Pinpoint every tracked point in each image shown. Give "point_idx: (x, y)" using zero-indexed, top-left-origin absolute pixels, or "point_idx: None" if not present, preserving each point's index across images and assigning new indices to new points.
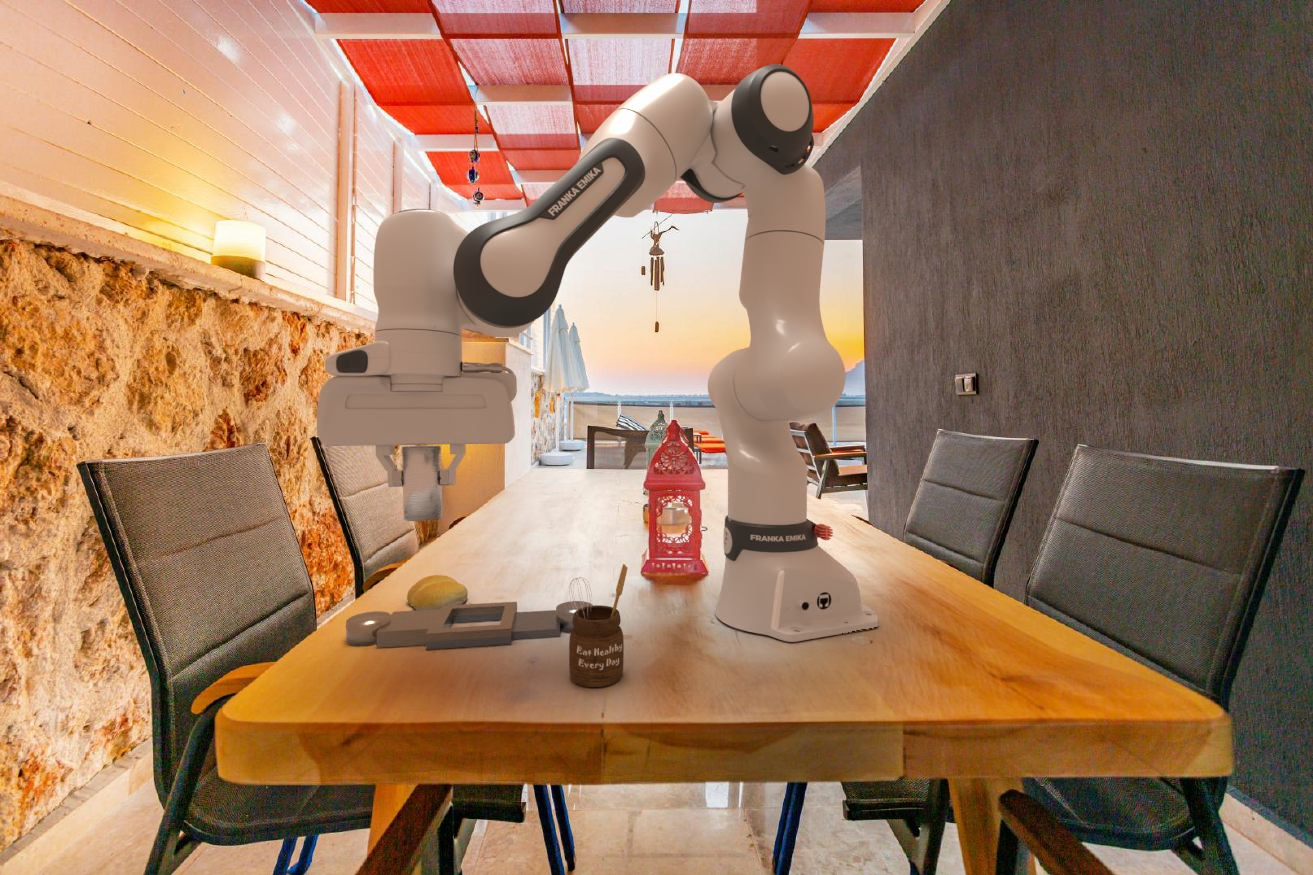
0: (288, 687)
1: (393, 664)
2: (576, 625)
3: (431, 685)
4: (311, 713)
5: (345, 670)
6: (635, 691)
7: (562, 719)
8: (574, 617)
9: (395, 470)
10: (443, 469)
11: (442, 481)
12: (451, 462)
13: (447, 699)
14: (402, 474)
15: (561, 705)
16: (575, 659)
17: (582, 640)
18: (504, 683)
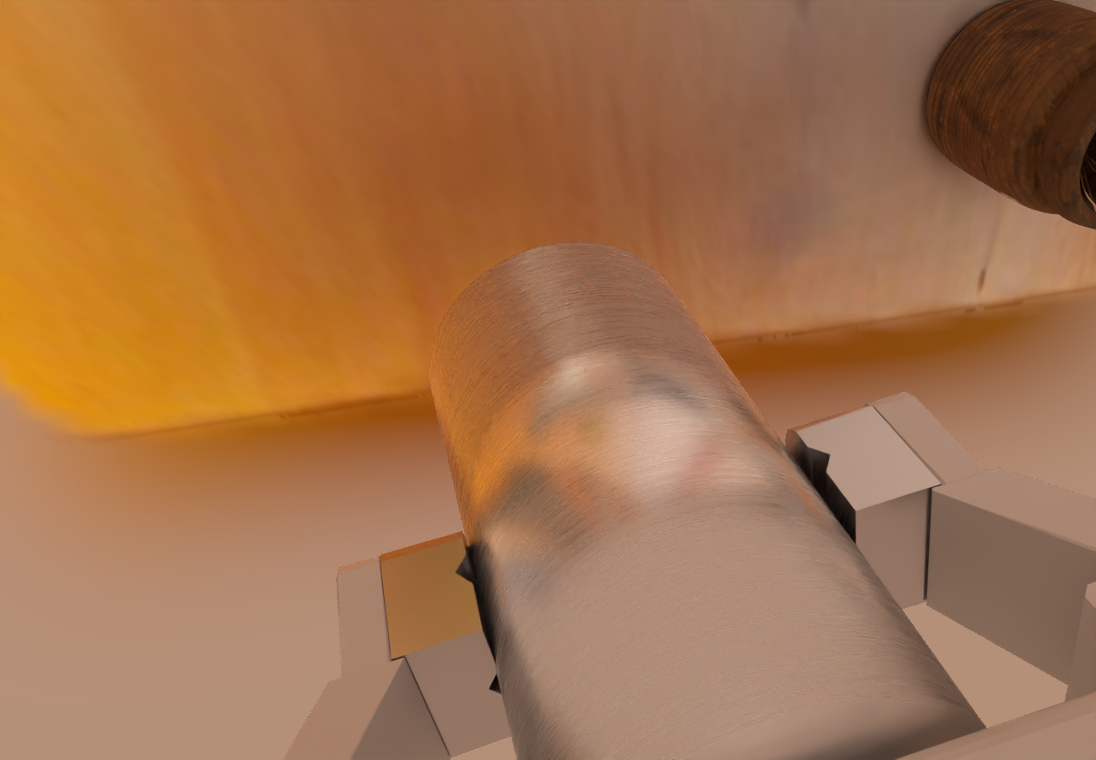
0: (40, 269)
1: (293, 65)
2: (1054, 207)
3: (515, 198)
4: (258, 380)
5: (138, 133)
6: None
7: (892, 309)
8: (1065, 192)
9: (429, 714)
10: (881, 572)
11: None
12: (1008, 648)
13: None
14: None
15: (892, 253)
16: (980, 178)
17: (1041, 210)
18: (733, 160)
